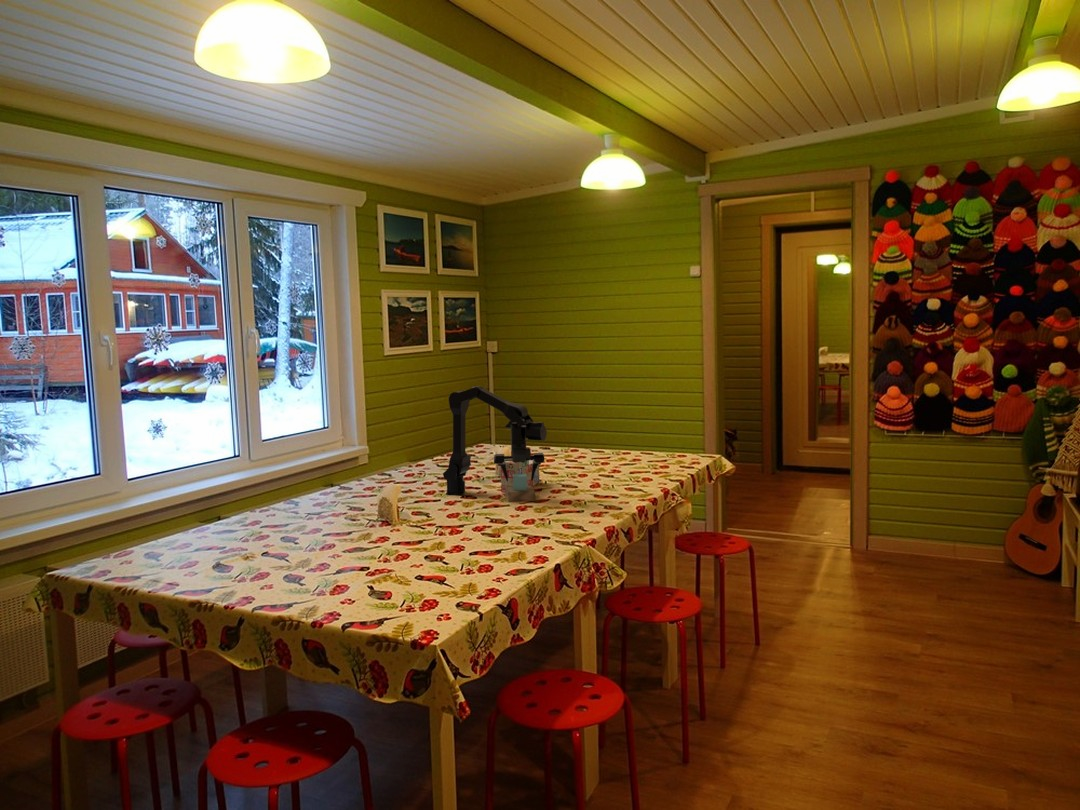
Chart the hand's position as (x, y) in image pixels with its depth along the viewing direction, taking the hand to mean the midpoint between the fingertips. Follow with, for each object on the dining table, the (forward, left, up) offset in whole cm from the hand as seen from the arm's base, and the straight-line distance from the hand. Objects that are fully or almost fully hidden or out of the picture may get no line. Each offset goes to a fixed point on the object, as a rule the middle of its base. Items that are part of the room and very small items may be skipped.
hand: (519, 480), depth 303 cm
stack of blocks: (0, +19, -7) cm, 21 cm away
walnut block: (0, 0, -7) cm, 7 cm away
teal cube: (0, 0, -3) cm, 3 cm away
